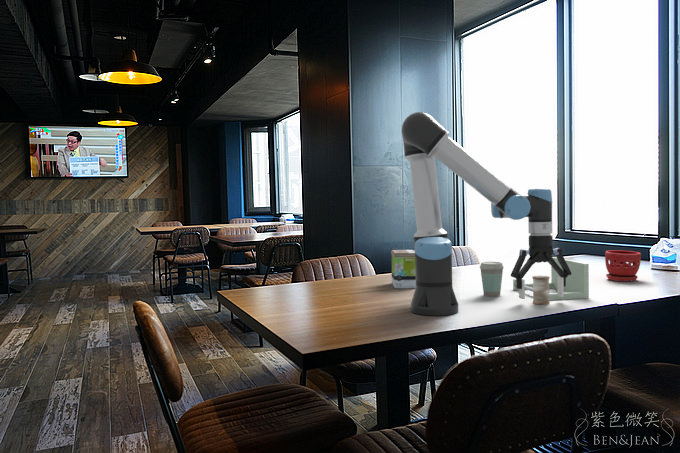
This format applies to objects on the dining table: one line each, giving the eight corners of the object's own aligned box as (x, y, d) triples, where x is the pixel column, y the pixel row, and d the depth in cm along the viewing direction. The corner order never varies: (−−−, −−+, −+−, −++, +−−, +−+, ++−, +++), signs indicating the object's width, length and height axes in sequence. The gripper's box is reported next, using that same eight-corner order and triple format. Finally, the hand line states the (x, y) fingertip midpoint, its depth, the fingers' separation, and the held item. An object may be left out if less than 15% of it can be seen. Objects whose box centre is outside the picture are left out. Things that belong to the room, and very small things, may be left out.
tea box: (419, 288, 217) (418, 252, 216) (394, 289, 217) (393, 252, 216) (414, 282, 232) (413, 248, 231) (391, 283, 232) (390, 249, 231)
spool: (537, 305, 177) (536, 278, 177) (529, 302, 183) (529, 275, 182) (552, 304, 178) (552, 277, 177) (544, 301, 183) (544, 275, 183)
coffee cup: (505, 297, 192) (504, 264, 191) (480, 297, 194) (480, 264, 193) (502, 293, 200) (502, 261, 200) (479, 293, 202) (478, 261, 202)
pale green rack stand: (541, 300, 185) (541, 265, 184) (513, 289, 208) (512, 258, 207) (588, 297, 187) (588, 263, 186) (555, 287, 210) (555, 256, 209)
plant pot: (611, 282, 217) (611, 253, 216) (601, 277, 230) (600, 250, 229) (646, 282, 215) (646, 252, 214) (633, 277, 228) (633, 249, 227)
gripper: (509, 236, 174) (510, 301, 175) (581, 233, 177) (582, 297, 178) (500, 235, 182) (501, 297, 183) (569, 232, 184) (570, 293, 185)
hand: (541, 297), depth 180 cm, fingers open, 13 cm apart
